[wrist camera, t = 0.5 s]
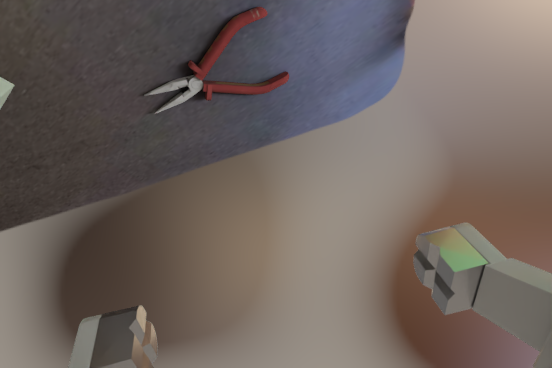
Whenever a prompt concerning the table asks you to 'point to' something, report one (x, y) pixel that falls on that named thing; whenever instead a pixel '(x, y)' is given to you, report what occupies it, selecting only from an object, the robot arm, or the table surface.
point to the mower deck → (4, 90)
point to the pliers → (207, 62)
